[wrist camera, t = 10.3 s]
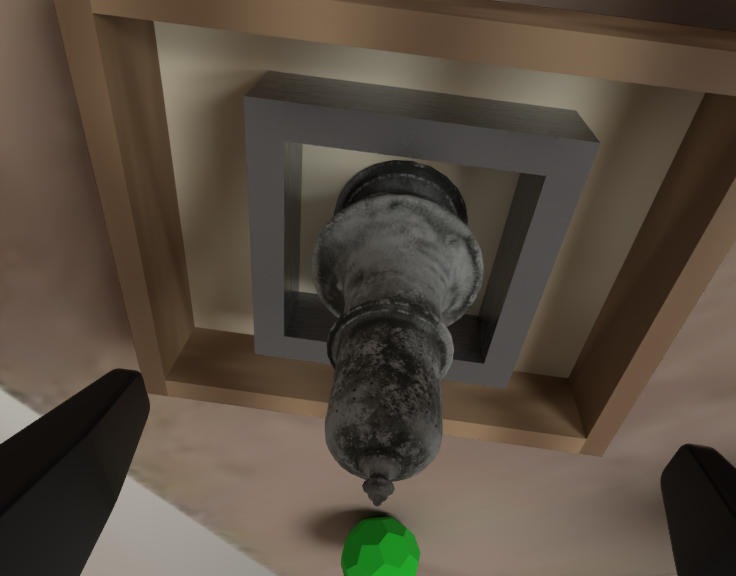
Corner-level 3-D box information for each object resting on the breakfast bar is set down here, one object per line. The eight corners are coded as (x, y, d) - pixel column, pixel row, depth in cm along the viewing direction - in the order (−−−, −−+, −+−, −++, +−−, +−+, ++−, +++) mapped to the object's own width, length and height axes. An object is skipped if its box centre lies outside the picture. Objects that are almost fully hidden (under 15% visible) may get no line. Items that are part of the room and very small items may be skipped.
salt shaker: (504, 191, 19) (586, 476, 9) (431, 302, 22) (436, 596, 13) (360, 125, 18) (285, 367, 8) (306, 251, 21) (209, 528, 12)
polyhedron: (348, 497, 33) (337, 574, 29) (424, 506, 33) (423, 584, 29) (345, 537, 36) (335, 611, 32) (415, 546, 36) (414, 621, 32)
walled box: (758, 34, 16) (843, 65, 13) (579, 387, 25) (601, 456, 22) (120, -48, 16) (44, -37, 13) (180, 332, 26) (145, 392, 22)
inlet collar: (576, 110, 17) (600, 142, 15) (498, 339, 23) (506, 388, 21) (269, 70, 17) (243, 95, 15) (272, 308, 24) (254, 353, 21)
